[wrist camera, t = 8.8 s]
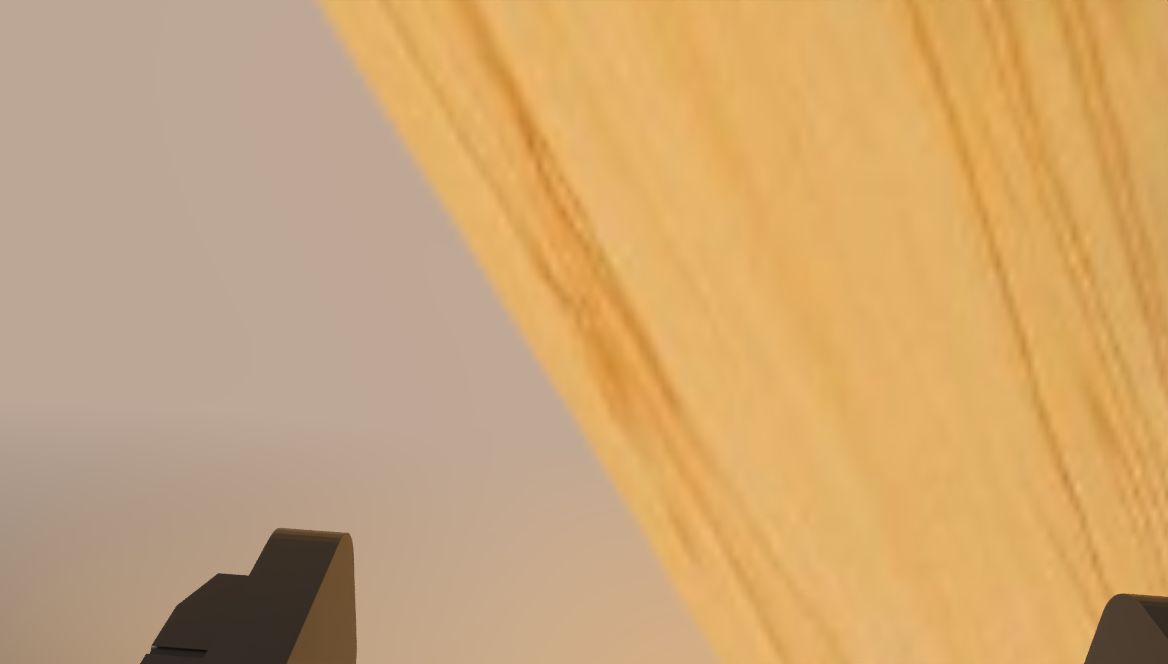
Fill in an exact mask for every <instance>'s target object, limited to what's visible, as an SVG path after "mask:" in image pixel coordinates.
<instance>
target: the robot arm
mask: <svg viewBox="0 0 1168 664" xmlns="http://www.w3.org/2000/svg"><path fill="white" fill-rule="evenodd" d="M354 584H355V582H354V553H353V543H352V539H351V536H350V534H349V533H340V532H327V531H312V530H300V529H286V528H278V529H276V530H275V531H274V532H273V534H272V535H271V536H270V538H269V540H268V542H267V544H266V545H265V547H264V549H263V551H262V553H261V554H260V556H259V558H258V560H257V562H256V564H255V565H254V568H253V569H252V571H251V573H250V575H249V576H246V575H233V574H220V573H218V574H217V575H216V576H214V577H213V578H212V579H210V580H209V581H208V582H207V583H205V584H204V585H203V586H201V587H200V588H199V589H198V590H196V591H195V592H194V593H192V594H191V595H190V596H189V597H187V598H186V599H185V600H183V602H181V603H180V604H178V605H177V606H176V608H175V609H174V611H173V612H172V614H171V616H170V617H169V619H168V620H167V622H166V623H165V625H164V627H163V628H162V630H161V631H160V633H159V635H158V636H157V638H156V639H155V641H154V643H153V644H152V647H151V652H150V654H146V655H145V657H144V658H143V660H142V662H141V663H140V664H356V653H357V645H356V644H357V640H356V613H355V612H356V611H355V585H354ZM1084 664H1168V597H1162V596H1149V595H1135V594H1118V595H1116V596H1114V597H1113V598H1111V599H1110V600H1109V602H1108V603H1107V605H1106V606H1105V609H1104V611H1103V613H1102V616H1101V619H1100V622H1099V624H1098V627H1097V630H1096V633H1095V635H1094V638H1093V641H1092V644H1091V646H1090V649H1089V652H1088V655H1087V657H1086V660H1085V663H1084Z"/></svg>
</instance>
